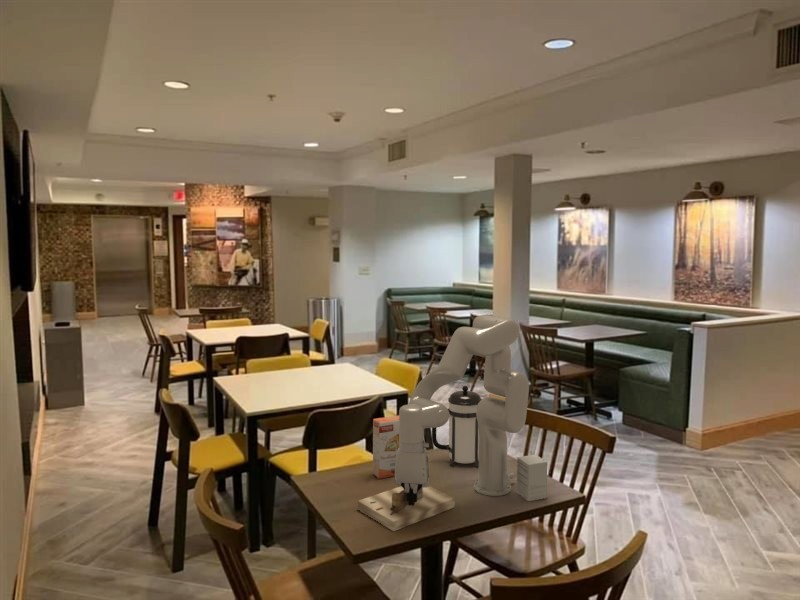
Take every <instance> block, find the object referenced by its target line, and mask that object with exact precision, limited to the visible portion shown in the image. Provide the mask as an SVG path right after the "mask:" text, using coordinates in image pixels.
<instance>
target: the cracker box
mask: <svg viewBox="0 0 800 600" xmlns="http://www.w3.org/2000/svg"><path fill="white" fill-rule="evenodd" d="M372 425H373V427H372V474H373V475H374V476H375V477H376V478H377V479H378V480H379V479H385V478H391V477H395V463H396V455H397V450H398V448H399V414H398V415H393V416H385V417H378V418H373V419H372Z"/></svg>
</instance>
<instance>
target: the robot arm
mask: <svg viewBox="0 0 800 600" xmlns="http://www.w3.org/2000/svg"><path fill="white" fill-rule="evenodd" d="M519 335H520V326H519V324H518V322H517V321H516V320H515V319H512V318H509V317H501V316H496V315H490V314H489V315H488V314H487V315H486V314H481V315H478V316H476V317H475V318H474V319H473V321H472V326H471V327H470V326H461V327H457V329H456V330H455V331H454V333H453V334H452V337H451V338H450V341H449V343H448V345H447V347H446V349H445V351H444V353H443V355H442V357H441V359H440V361H439V364H438V365H437V367H435V368H434V369H432V370H431V371H430V372H429V373H428V374H426V375H425V376H424V377H423V378H422V379H420V381H419V382H418V384H417V385H416V387H415V389H414V391H413V392H412V395H411V396H410V399H409V402H408V404H404V405H402V406H400V407H399V410H398V415H399V448H398V450H397V455H396V463H395V476H394V485H397V486H398V487H400V486H402V487H403V488H404V489H405V491H406V493H407V501H409V505H412V506H414V504H415V502H417V491H419V490H420V489H421V488H424V487H428V486H430V481H429V478H430V463H429V455H428V450H427V449H428V448H430V445H429V443H428V442H426V441H425V429H432V428H436V429H437V428H440V427H442V426H445V425H446V423H448V422H449V411H448V409H449V408H448V407H447V406H446V405H444V404H443V403H440V402H437V401H435V400H432V397H433V395H435V392H437V390H439V389H440V388H441V387H443V386H446V385H448V384H451V383H454V382H457V381H460V380H462V379H463V377H464V376H465V374H466V371H467V369H468V366H469V364H470V362H471V361H472V358H473V356H478V357H485V359H484V360H485V363H484V371H483V372H484V374H483V387H484V390H485V391H486V392H487V393H489V394H492V395H495V396H498V397H503V398H505V400H504V399H500V398H497V397H491V396H490V397H489V396H488V397H484V398H481V399H482V400H481V401H480V402H479V403H478V405H477V409H476V416H477V421H478V427H479V460H478V461H479V467H478V478H477V479H478V480H476V481H475V482H474V483H473V489H474V490H475V491H476V492H477V493H479V494H481V495H484V496H489V497H491V496H492V497H500V496H504V495H508V494H509V493H511V490H512V485H511V484H510V483H509V481H510V480H512V479H514V478H515V477H516V475H515V473H514V472H512V471H511V472H509V473H508V472H507V471H508V470H507V469H508V437H507V433H511V434H517V433H519V432H521V430H522V429H523V428H524V426H525V424H526V420H527V412H528V403H529V392H530V391H529V389H530V386H529V385H530V384H529V379H528V378H527V376H526V375H525V373H523V372H521V371H519V370H515V369H512V367H511V366H512V365H511V364H512V363H511V362H512V350H511V347H510V346H511V345H513V344H514V343H515V342H516V341H517V339H518V337H519ZM410 483H412V484H414V487H413V490H412V488H411V484H410Z"/></svg>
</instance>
